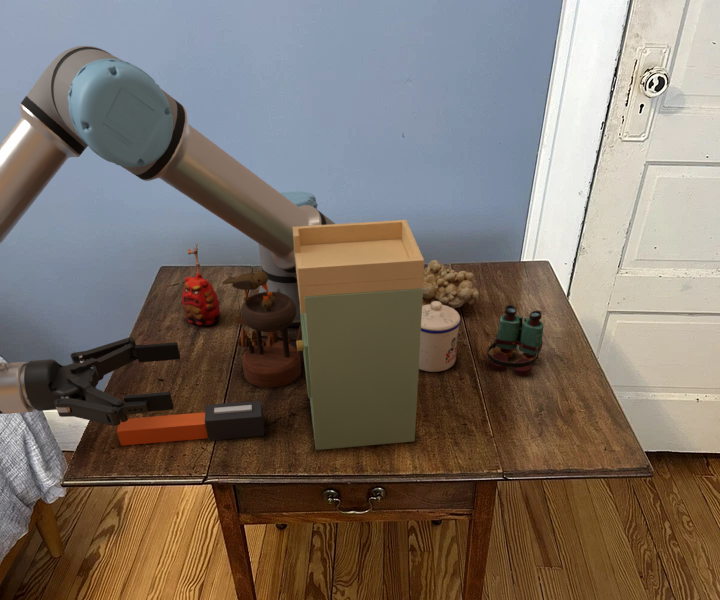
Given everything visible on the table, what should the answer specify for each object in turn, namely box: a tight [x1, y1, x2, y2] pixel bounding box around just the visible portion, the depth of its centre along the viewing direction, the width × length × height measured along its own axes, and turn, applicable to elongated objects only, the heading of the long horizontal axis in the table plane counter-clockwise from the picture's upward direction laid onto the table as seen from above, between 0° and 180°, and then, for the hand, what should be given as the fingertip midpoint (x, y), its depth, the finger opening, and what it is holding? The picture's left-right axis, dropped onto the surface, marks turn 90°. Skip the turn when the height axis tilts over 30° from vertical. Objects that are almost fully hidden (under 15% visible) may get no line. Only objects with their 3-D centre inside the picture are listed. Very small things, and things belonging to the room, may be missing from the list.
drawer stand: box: [292, 219, 425, 451], centre depth 103 cm, size 14×18×30 cm
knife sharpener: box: [116, 400, 265, 447], centre depth 110 cm, size 4×23×4 cm, turn 97°
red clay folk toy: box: [180, 242, 221, 327], centre depth 134 cm, size 8×7×15 cm
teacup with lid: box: [419, 301, 462, 373], centre depth 124 cm, size 12×9×12 cm
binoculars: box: [486, 304, 544, 377], centre depth 122 cm, size 9×11×10 cm
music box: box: [222, 270, 302, 389], centre depth 119 cm, size 15×11×20 cm
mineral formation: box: [422, 259, 480, 310], centre depth 139 cm, size 8×13×15 cm
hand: (175, 374), depth 104 cm, fingers open, 13 cm apart
